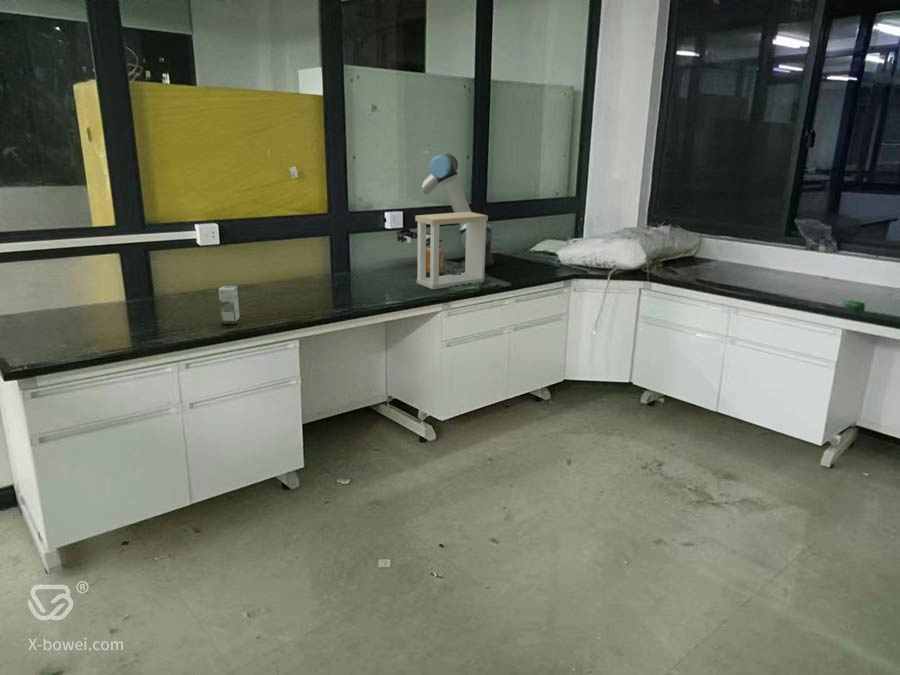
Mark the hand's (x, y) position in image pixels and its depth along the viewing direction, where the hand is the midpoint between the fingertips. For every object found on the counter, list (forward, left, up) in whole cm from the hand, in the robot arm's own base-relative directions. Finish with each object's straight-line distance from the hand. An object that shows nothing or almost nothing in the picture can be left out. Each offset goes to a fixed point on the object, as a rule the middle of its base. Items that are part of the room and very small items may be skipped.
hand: (421, 239), depth 336 cm
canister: (0, +10, -18) cm, 20 cm away
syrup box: (+113, +41, -18) cm, 121 cm away
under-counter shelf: (0, +28, -17) cm, 33 cm away
